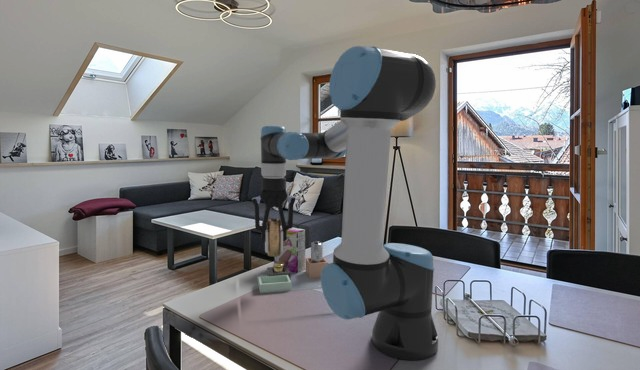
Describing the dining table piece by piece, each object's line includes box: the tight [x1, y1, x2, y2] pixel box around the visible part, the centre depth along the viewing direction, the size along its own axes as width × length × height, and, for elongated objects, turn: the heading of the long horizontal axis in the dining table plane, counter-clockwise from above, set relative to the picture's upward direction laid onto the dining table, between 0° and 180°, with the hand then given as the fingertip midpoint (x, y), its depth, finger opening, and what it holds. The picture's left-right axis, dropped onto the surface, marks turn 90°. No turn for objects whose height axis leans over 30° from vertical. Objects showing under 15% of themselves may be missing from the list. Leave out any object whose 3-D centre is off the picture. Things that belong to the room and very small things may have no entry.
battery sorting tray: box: [256, 256, 329, 295], centre depth 124 cm, size 16×24×6 cm, turn 104°
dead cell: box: [310, 240, 324, 263], centre depth 130 cm, size 4×4×12 cm
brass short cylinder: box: [272, 262, 284, 272], centre depth 126 cm, size 4×4×4 cm
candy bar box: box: [273, 225, 306, 273], centre depth 136 cm, size 11×5×16 cm, turn 57°
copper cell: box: [266, 217, 281, 258], centre depth 117 cm, size 4×4×12 cm
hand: (274, 250), depth 118 cm, fingers closed on copper cell, 4 cm apart
